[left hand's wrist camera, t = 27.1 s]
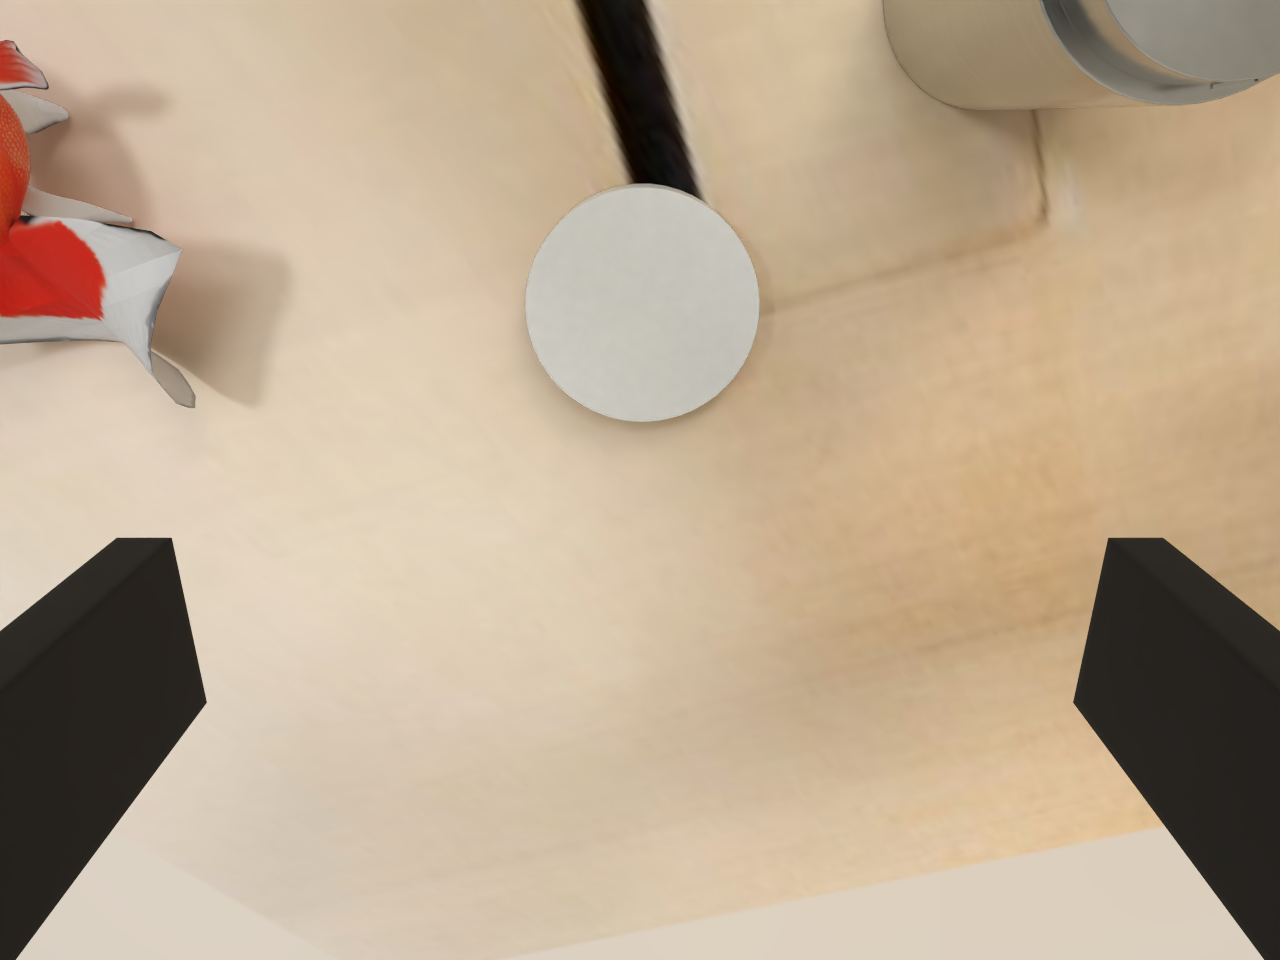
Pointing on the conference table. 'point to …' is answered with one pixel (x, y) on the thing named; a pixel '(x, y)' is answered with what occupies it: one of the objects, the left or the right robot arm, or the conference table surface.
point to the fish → (71, 248)
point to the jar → (1083, 50)
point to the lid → (642, 303)
